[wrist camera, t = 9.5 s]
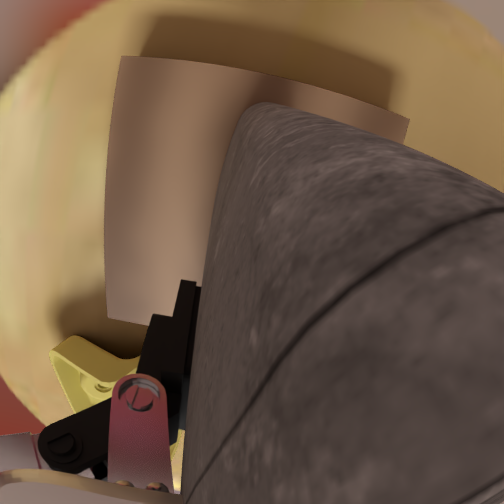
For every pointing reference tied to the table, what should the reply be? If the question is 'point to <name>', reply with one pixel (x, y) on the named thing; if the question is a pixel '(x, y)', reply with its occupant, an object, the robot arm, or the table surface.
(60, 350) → the plastic component
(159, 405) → the robot arm
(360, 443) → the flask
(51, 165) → the table surface
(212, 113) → the brown flat square piece
